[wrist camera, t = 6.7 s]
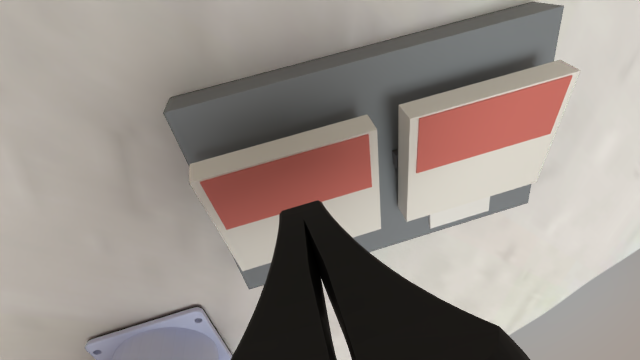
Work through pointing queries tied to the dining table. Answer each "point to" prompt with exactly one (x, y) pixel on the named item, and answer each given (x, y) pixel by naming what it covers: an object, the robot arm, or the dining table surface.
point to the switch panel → (370, 103)
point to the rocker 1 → (291, 185)
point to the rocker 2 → (479, 138)
